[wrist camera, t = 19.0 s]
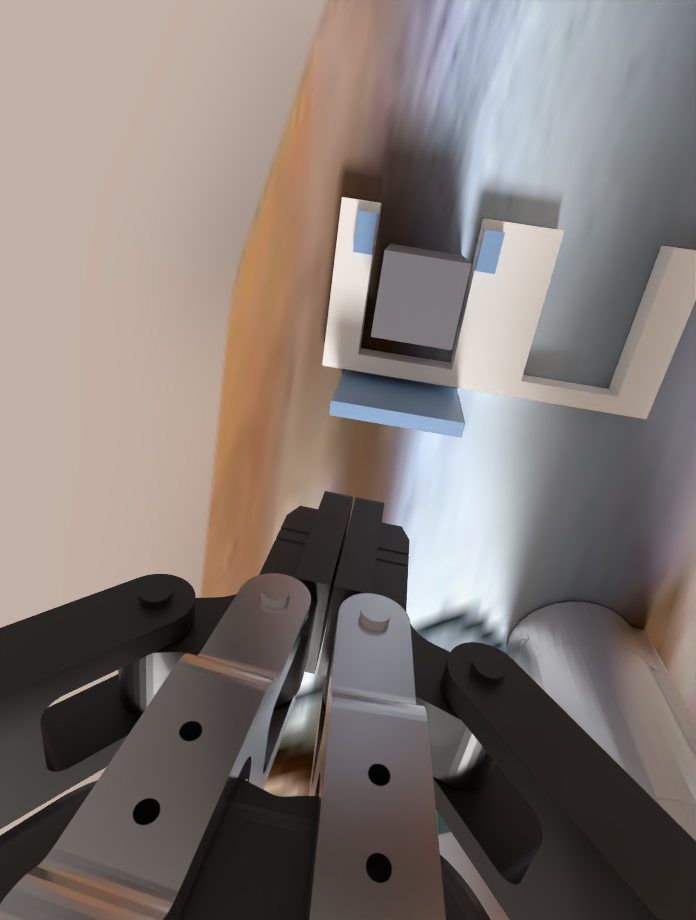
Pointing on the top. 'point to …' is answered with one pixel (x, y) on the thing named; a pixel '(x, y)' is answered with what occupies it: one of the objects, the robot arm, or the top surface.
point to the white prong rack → (491, 331)
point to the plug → (420, 296)
